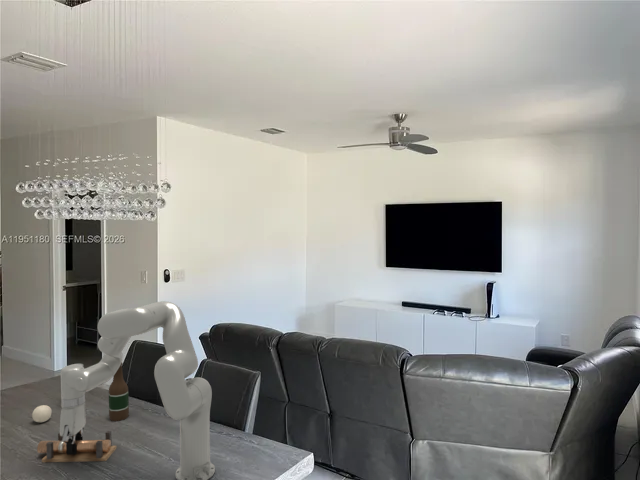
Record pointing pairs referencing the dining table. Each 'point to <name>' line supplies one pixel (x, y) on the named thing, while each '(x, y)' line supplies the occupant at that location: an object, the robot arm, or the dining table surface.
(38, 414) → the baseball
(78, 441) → the tube
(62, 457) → the base
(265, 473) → the dining table surface
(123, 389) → the beer bottle
